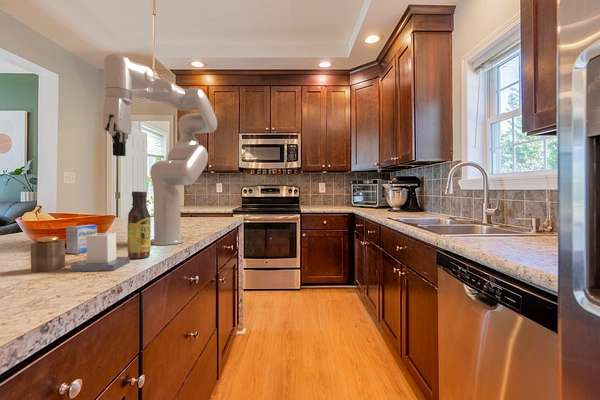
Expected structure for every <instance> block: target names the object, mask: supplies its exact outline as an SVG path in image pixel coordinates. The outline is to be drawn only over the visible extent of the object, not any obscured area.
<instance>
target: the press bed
mask: <svg viewBox="0 0 600 400" xmlns="http://www.w3.org/2000/svg"><path fill="white" fill-rule="evenodd" d="M130 263H131V258H130V257H128V256H116V259H115V260H113V261H110V262H108V263H87V259H84V260H82V261H79V262H76V263H74V264H72V265H70V272H71V271H76V272H109V271H110V272H112V271H116V270H117V269H119V268H121V267H124V266H125V265H128V264H130Z"/></svg>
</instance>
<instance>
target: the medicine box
mask: <svg viewBox="0 0 600 400" xmlns="http://www.w3.org/2000/svg"><path fill="white" fill-rule="evenodd" d="M96 233H98V225H97V224H83V225H75V226H66V227H65V235H66V237H65V239H66V240H65V241H66V242H65V243H66V254H67V253H71V254H70V255H81V254H80V253H82V254H86V253H87V236H88V235H92V234H96ZM85 252H86V253H85Z"/></svg>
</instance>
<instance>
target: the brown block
mask: <svg viewBox="0 0 600 400" xmlns="http://www.w3.org/2000/svg"><path fill="white" fill-rule="evenodd" d="M65 241H66V240H60V239H59V241H57V242H51V243H37V241H36V242H32V243H30V273H49V272H51V273H52V272H55V271H57V270H61V269H63V268H65V267H66V247H65V245H66V244H65V243H66V242H65Z"/></svg>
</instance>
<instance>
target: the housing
mask: <svg viewBox="0 0 600 400" xmlns="http://www.w3.org/2000/svg"><path fill="white" fill-rule="evenodd" d="M116 257H117V233H116V232H105V233H104V232H103V233H102V232H101V233H100V232H99V233H98V232H97V233H96V234H92V235H88V236H87V252H86V260H87V263H108V262H110V261H113V260H115V259H116Z"/></svg>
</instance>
